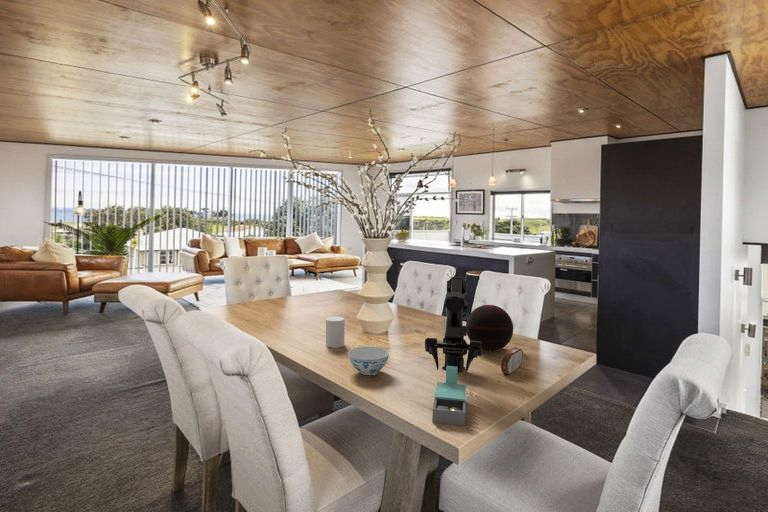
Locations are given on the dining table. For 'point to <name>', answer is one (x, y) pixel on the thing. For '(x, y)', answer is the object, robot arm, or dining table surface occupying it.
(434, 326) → the dining table surface
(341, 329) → the gray cylinder
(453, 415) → the grey box
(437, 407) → the steel part
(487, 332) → the decorative orb
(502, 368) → the tin
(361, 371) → the chinaware
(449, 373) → the teal stepped block
